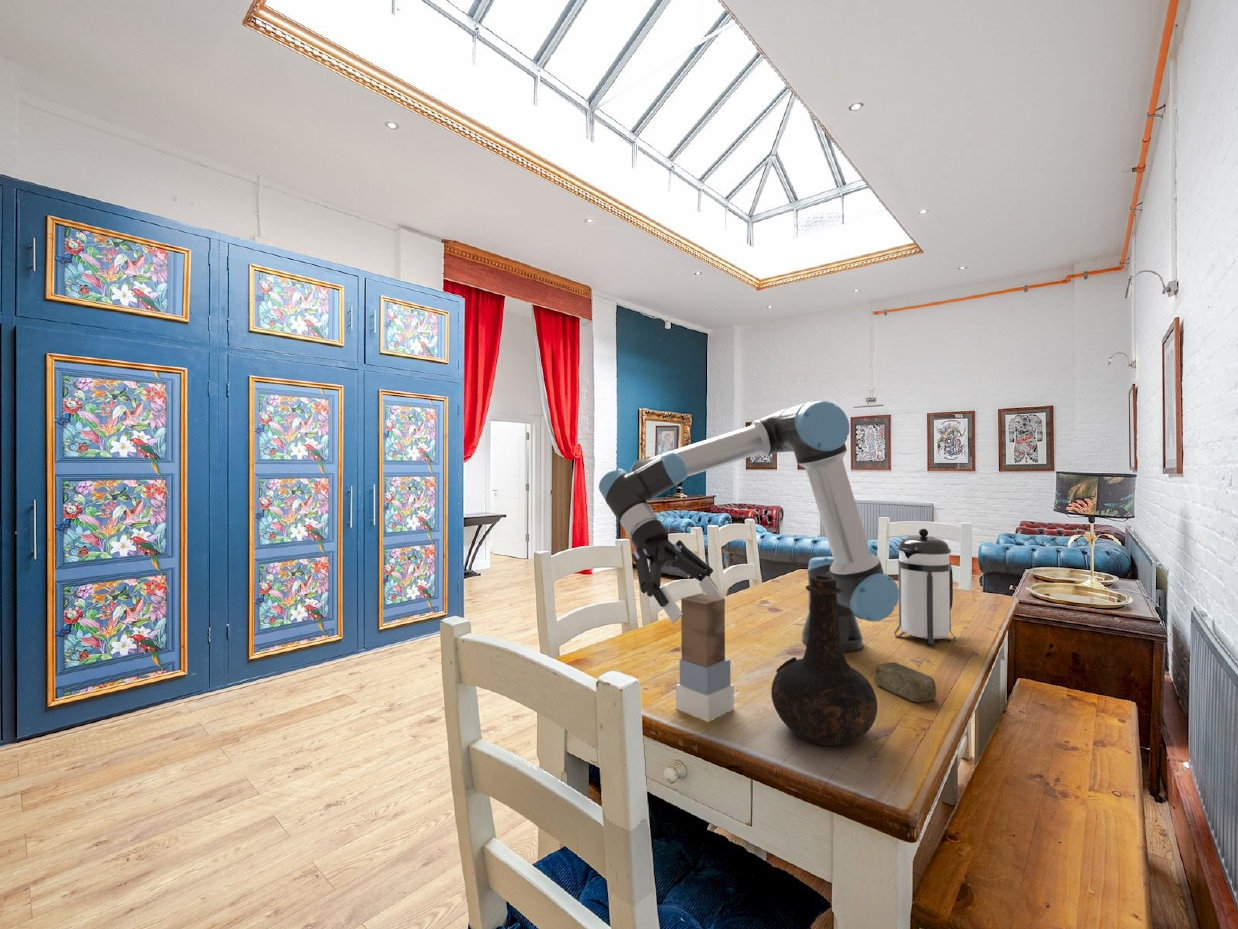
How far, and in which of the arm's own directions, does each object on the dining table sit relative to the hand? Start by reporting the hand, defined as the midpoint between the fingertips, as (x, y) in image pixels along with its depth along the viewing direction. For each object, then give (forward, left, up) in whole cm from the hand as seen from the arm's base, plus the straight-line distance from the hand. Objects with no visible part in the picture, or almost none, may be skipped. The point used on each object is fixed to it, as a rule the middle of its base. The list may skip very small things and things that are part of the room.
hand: (700, 612), depth 111 cm
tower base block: (-1, 0, -19) cm, 19 cm away
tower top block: (-1, 0, -14) cm, 14 cm away
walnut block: (0, 0, -9) cm, 9 cm away
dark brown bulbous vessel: (-22, +4, -19) cm, 30 cm away
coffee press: (-52, -62, -19) cm, 84 cm away
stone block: (-39, -20, -20) cm, 48 cm away
